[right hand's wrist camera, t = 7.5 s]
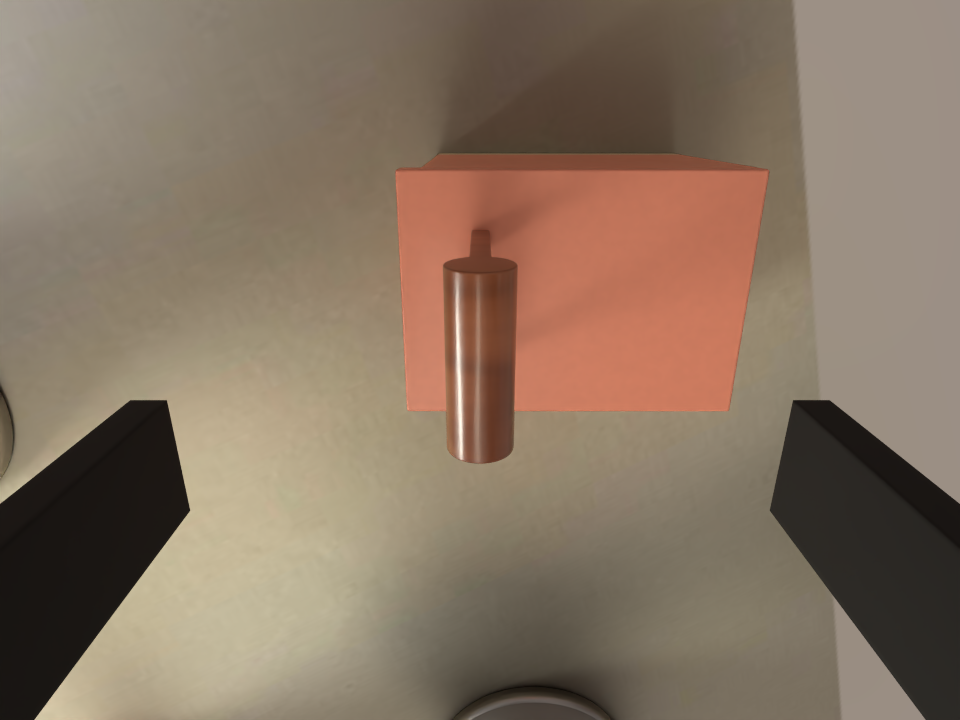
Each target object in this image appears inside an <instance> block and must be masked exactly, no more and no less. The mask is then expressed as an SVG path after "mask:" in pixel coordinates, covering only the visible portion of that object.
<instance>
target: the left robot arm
mask: <svg viewBox="0 0 960 720" xmlns="http://www.w3.org/2000/svg"><path fill="white" fill-rule="evenodd" d="M453 720H611V719H610V717H609V716H608V715H607V714H606V713H605V712H604V711H603V710H602V709H601V708H600V707H598V706H597V705H595V704H594V703H592V702H591V701H589V700H587V699H585V698H583V697H581V696H579V695H576V694H573V693H570V692H567V691H563V690H559V689H553V688H545V687H522V688H514V689H508V690H504V691H500V692H496V693H493V694H490V695H488V696H485V697H483V698H481V699H479V700H477V701H475V702H473V703H472V704H470V705H469V706H467V707H466V708H465V709H463V710H462V711H461V712H460V713H459V714H458V715H457V716H456V717H455V718H454V719H453Z"/></svg>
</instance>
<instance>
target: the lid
mask: <svg viewBox="0 0 960 720" xmlns="http://www.w3.org/2000/svg"><path fill="white" fill-rule="evenodd" d="M395 174H396V194H397V214H398V234H399V255H400V275H401V295H402V315H403V335H404V356H405V376H406V396H407V410H408V411H446V423H447V449H448V451H449V453H450V454H451V455H452V456H454V457H455V458H457V459H459V460H462V461H465V462H470V463H491V462H496V461H499V460H501V459H504V458H505V457H507V456H508V455H509V454H510V453H511V452H512V450H513V447H514V411H729V407H730V401H731V395H732V390H733V384H734V378H735V372H736V366H737V360H738V354H739V348H740V342H741V336H742V330H743V324H744V319H745V313H746V307H747V301H748V295H749V289H750V283H751V277H752V271H753V265H754V259H755V253H756V248H757V242H758V236H759V230H760V224H761V218H762V212H763V206H764V200H765V194H766V188H767V182H768V177H769V170H768V169H762V168H399V169H397V170H396V172H395Z"/></svg>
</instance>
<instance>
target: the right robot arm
mask: <svg viewBox="0 0 960 720" xmlns="http://www.w3.org/2000/svg"><path fill="white" fill-rule="evenodd" d="M12 447H13V430H12V424H11V419H10V415H9V411H8V408H7V406H6V403H5V401H4V398H3V396H2V394H1V392H0V479H1V477H2V476H3V474H4V473H5V471H6V469H7V467H8V464H9V461H10V458H11V453H12ZM189 511H190V508H189V503H188V498H187V493H186V489H185V484H184V479H183V475H182V470H181V465H180V460H179V456H178V451H177V446H176V441H175V437H174V432H173V427H172V422H171V418H170V413H169V408H168V404H167V400H130V401H129V402H128V403H126V404H125V405H124V406H123V407H121V408H120V409H119V410H118V411H116V412H115V413H114V414H113V415H111V416H110V417H109V418H108V419H106V420H105V421H104V422H103V423H101V424H100V425H99V426H97V427H96V428H95V429H94V430H92V431H91V432H90V433H89V434H87V435H86V436H85V437H84V438H82V439H81V440H80V441H79V442H77V443H76V444H75V445H74V446H72V447H71V448H70V449H69V450H67V451H66V452H65V453H64V454H62V455H61V456H60V457H59V458H57V459H56V460H55V461H54V462H52V463H51V464H50V465H49V466H47V467H46V468H45V469H44V470H42V471H41V472H40V473H39V474H37V475H36V476H35V477H34V478H32V479H31V480H30V481H28V482H27V483H26V484H25V485H23V486H22V487H21V488H20V489H18V490H17V491H16V492H15V493H13V494H12V495H11V496H10V497H8V498H7V499H6V500H5V501H3V502H2V503H1V504H0V720H34V719H35V718H36V717H37V715H38V714H39V713H40V711H41V710H42V709H43V707H44V706H45V705H46V703H47V702H48V701H49V699H50V698H51V697H52V695H53V694H54V693H55V691H56V690H57V689H58V687H59V686H60V685H61V683H62V682H63V681H64V679H65V678H66V676H67V675H68V674H69V672H70V671H71V670H72V668H73V667H74V666H75V664H76V663H77V662H78V660H79V659H80V658H81V656H82V655H83V654H84V652H85V651H86V650H87V648H88V647H89V646H90V644H91V643H92V642H93V640H94V639H95V638H96V636H97V635H98V634H99V632H100V631H101V630H102V628H103V627H104V625H105V624H106V623H107V621H108V620H109V619H110V617H111V616H112V615H113V613H114V612H115V611H116V609H117V608H118V607H119V605H120V604H121V603H122V601H123V600H124V599H125V597H126V596H127V595H128V593H129V592H130V591H131V589H132V588H133V587H134V585H135V584H136V583H137V581H138V580H139V579H140V577H141V576H142V575H143V573H144V572H145V570H146V569H147V568H148V566H149V565H150V564H151V562H152V561H153V560H154V558H155V557H156V556H157V554H158V553H159V552H160V550H161V549H162V548H163V546H164V545H165V544H166V542H167V541H168V540H169V538H170V537H171V536H172V534H173V533H174V532H175V530H176V529H177V528H178V526H179V525H180V524H181V522H182V521H183V519H184V518H185V517H186V515H187V514H188V513H189ZM770 511H771V513H772V514H773V515H774V517H775V518H776V519H777V521H778V522H779V524H780V525H781V526H782V528H783V529H784V530H785V532H786V533H787V534H788V536H789V537H790V538H791V540H792V541H793V542H794V544H795V545H796V546H797V548H798V549H799V550H800V552H801V553H802V554H803V556H804V557H805V558H806V560H807V561H808V562H809V564H810V565H811V566H812V568H813V569H814V570H815V572H816V573H817V575H818V576H819V577H820V579H821V580H822V581H823V583H824V584H825V585H826V587H827V588H828V589H829V591H830V592H831V593H832V595H833V596H834V597H835V599H836V600H837V601H838V603H839V604H840V605H841V607H842V608H843V609H844V611H845V612H846V613H847V615H848V616H849V617H850V619H851V620H852V621H853V623H854V624H855V625H856V627H857V628H858V630H859V631H860V632H861V634H862V635H863V636H864V638H865V639H866V640H867V642H868V643H869V644H870V646H871V647H872V648H873V650H874V651H875V652H876V654H877V655H878V656H879V658H880V659H881V660H882V662H883V663H884V664H885V666H886V667H887V668H888V670H889V671H890V672H891V674H892V675H893V676H894V678H895V679H896V681H897V682H898V683H899V684H900V686H901V687H902V689H903V690H904V691H905V693H906V694H907V695H908V697H909V698H910V699H911V701H912V702H913V703H914V705H915V706H916V707H917V709H918V710H919V711H920V713H921V714H922V715H923V717H924V718H925V719H926V720H960V504H959V503H958V502H957V501H955V500H954V499H953V498H951V497H950V496H949V495H948V494H947V493H945V492H944V491H943V490H942V489H940V488H939V487H938V486H937V485H935V484H934V483H933V482H931V481H930V480H929V479H928V478H926V477H925V476H924V475H923V474H921V473H920V472H919V471H918V470H916V469H915V468H914V467H913V466H911V465H910V464H909V463H908V462H906V461H905V460H904V459H903V458H901V457H900V456H899V455H898V454H896V453H895V452H894V451H893V450H891V449H890V448H889V447H888V446H886V445H885V444H884V443H883V442H881V441H880V440H879V439H878V438H876V437H875V436H874V435H872V434H871V433H870V432H869V431H868V430H866V429H865V428H864V427H863V426H861V425H860V424H859V423H857V422H856V421H855V420H854V419H852V418H851V417H850V416H849V415H847V414H846V413H845V412H844V411H842V410H841V409H840V408H839V407H837V406H836V405H835V404H834V403H832V402H831V401H830V400H793V404H792V408H791V413H790V418H789V422H788V427H787V432H786V437H785V441H784V446H783V451H782V456H781V460H780V465H779V470H778V475H777V479H776V484H775V489H774V493H773V498H772V503H771V508H770Z"/></svg>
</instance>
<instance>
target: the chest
mask: <svg viewBox="0 0 960 720" xmlns="http://www.w3.org/2000/svg"><path fill="white" fill-rule="evenodd" d="M421 168H756V167H751V166H745V165H739V164H733V163H727V162H721V161H715V160H709V159H703V158H697V157H691V156H685V155H681V154H675V153H439V154H437V156H436V157H434V158H433V159H432V160H430V161H429V162H428V163H427V164H425V165H424V166H423V167H421Z"/></svg>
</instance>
